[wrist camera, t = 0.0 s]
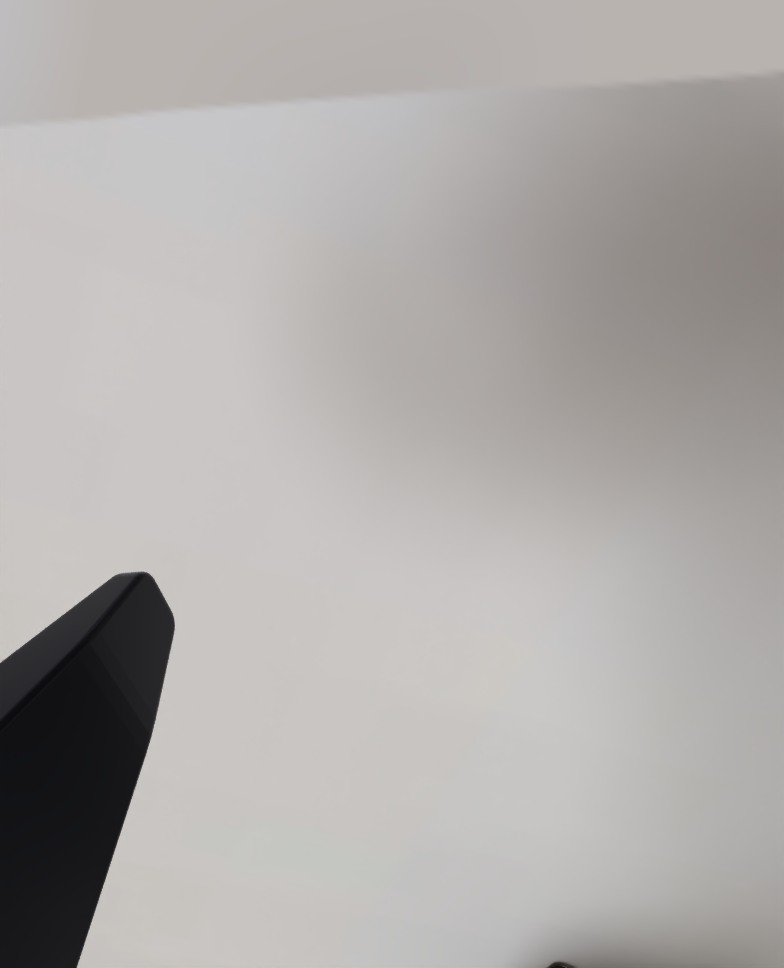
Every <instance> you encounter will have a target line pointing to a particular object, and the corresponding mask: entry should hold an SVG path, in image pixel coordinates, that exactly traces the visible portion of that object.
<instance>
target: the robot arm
mask: <svg viewBox="0 0 784 968" xmlns="http://www.w3.org/2000/svg"><path fill="white" fill-rule="evenodd" d="M174 630H175V623H174V617H173V613H172V611H171V609H170V607H169V606H168V604H167V602H166V600H165V598H164V596H163V595H162V593H161V591H160V589H159V587H158V585H157V583H156V582H155V580H154V578H153V577H152V576H151V575H150V574H149V573H147V572H131V573H121V574H118V575H115V576H114V577H112V578H111V579H110V580H108V581H107V582H106V583H104V584H103V585H102V586H100V587H99V588H98V589H96V590H95V591H94V592H93V593H91V594H90V595H89V596H87V597H86V598H85V599H83V600H82V601H81V602H79V603H78V604H77V605H76V606H74V607H73V608H72V609H70V610H69V611H68V612H66V613H65V614H64V615H62V616H61V617H60V618H59V619H57V620H56V621H55V622H53V623H52V624H51V625H49V626H48V627H47V628H45V629H44V630H43V631H42V632H40V633H39V634H38V635H36V636H35V637H34V638H32V639H31V640H30V641H28V642H27V643H26V644H24V645H23V646H22V647H21V648H19V649H18V650H17V651H15V652H14V653H13V654H11V655H10V656H9V657H7V658H6V659H5V660H4V661H2V662H1V663H0V968H77V965H78V962H79V959H80V956H81V953H82V950H83V947H84V944H85V941H86V937H87V934H88V931H89V928H90V925H91V922H92V919H93V916H94V913H95V910H96V907H97V904H98V901H99V897H100V894H101V891H102V888H103V885H104V882H105V879H106V876H107V873H108V870H109V867H110V864H111V861H112V857H113V854H114V851H115V848H116V845H117V842H118V839H119V836H120V833H121V830H122V827H123V824H124V821H125V817H126V814H127V811H128V808H129V805H130V802H131V799H132V796H133V793H134V790H135V787H136V784H137V781H138V778H139V774H140V771H141V768H142V765H143V762H144V759H145V756H146V753H147V749H148V746H149V743H150V739H151V736H152V732H153V728H154V724H155V720H156V715H157V711H158V706H159V701H160V697H161V692H162V687H163V683H164V678H165V673H166V668H167V664H168V659H169V654H170V650H171V645H172V640H173V636H174ZM552 968H565V967H562V966H555V967H552Z"/></svg>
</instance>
